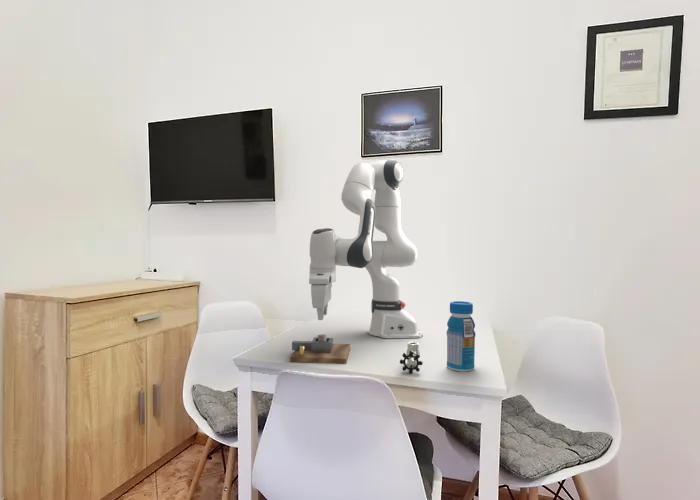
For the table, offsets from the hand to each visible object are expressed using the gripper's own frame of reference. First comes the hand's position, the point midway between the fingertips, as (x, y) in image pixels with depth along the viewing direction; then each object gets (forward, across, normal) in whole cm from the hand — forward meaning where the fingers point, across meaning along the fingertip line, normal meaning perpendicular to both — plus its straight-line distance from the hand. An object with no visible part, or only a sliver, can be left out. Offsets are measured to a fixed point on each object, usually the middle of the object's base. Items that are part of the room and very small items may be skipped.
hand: (322, 317), depth 133 cm
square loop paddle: (+11, 0, -4) cm, 12 cm away
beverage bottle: (+13, +10, +44) cm, 47 cm away
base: (+13, 0, 0) cm, 13 cm away
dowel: (+13, +7, -6) cm, 16 cm away
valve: (+13, +11, +29) cm, 34 cm away
